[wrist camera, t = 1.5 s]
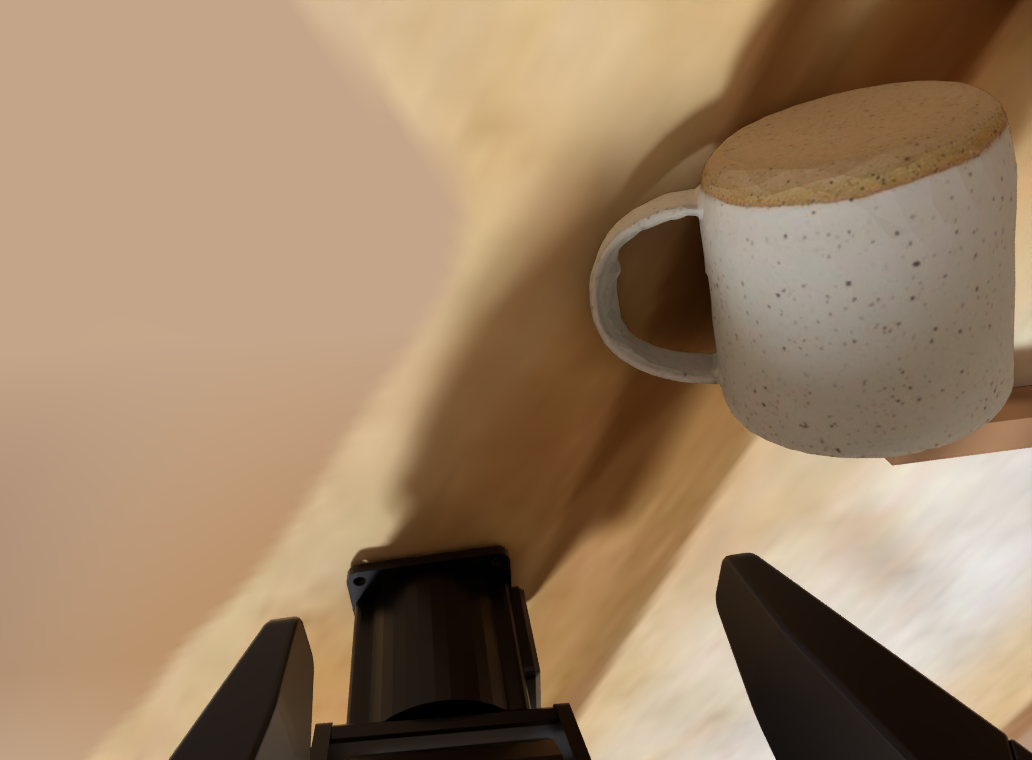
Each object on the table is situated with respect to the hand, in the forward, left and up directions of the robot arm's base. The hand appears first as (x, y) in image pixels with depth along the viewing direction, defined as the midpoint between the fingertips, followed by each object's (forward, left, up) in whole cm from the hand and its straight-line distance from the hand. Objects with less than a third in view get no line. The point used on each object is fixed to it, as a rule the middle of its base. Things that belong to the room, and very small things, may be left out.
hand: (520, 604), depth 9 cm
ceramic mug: (+10, 0, -13) cm, 16 cm away
